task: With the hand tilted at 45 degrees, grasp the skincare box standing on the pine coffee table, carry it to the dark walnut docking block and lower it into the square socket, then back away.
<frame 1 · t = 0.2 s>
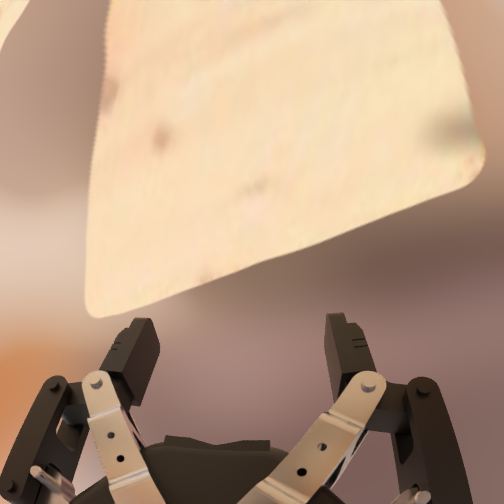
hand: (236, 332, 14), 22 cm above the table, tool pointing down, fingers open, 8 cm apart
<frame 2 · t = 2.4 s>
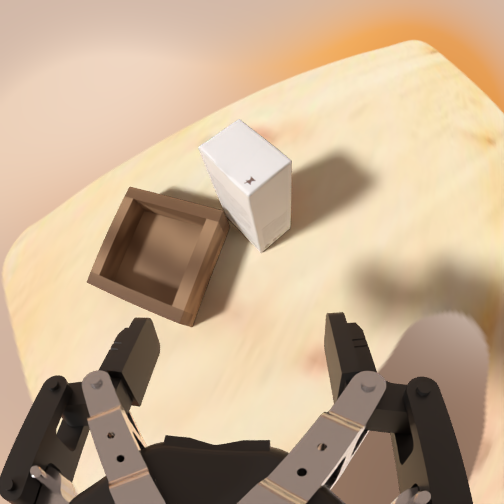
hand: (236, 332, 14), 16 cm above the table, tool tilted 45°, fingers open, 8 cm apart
dock: (164, 259, 32), on the table
skincare box: (257, 221, 33), on the table
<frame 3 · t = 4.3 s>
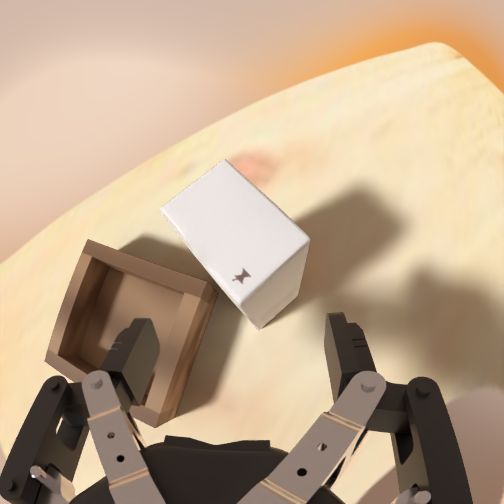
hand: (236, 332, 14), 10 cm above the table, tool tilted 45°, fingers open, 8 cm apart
dock: (136, 332, 24), on the table
skincare box: (254, 285, 25), on the table
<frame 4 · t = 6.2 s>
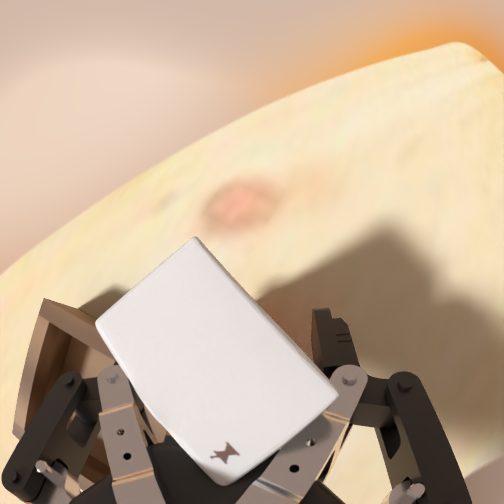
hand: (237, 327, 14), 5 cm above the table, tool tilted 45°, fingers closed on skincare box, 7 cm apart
dock: (110, 406, 18), on the table
skincare box: (250, 359, 19), on the table, touching gripper
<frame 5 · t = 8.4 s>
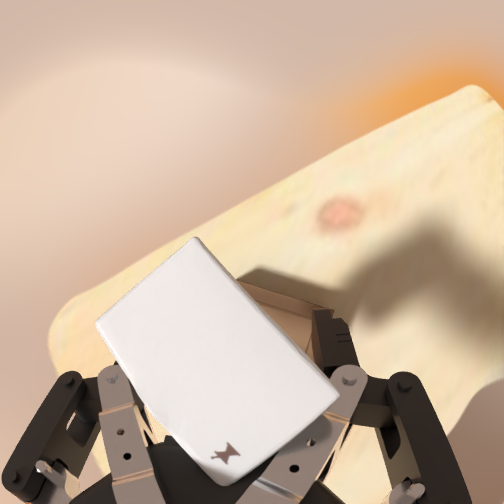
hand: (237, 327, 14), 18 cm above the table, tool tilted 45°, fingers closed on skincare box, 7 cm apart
dock: (260, 349, 30), on the table
skincare box: (250, 359, 19), point 12 cm above the table, touching gripper
when the fingers open (8 cm above the table, at t = 10.9 s): skincare box drops 1 cm, resting on dock.
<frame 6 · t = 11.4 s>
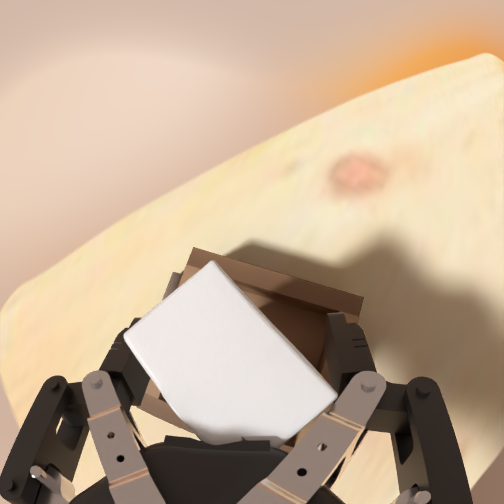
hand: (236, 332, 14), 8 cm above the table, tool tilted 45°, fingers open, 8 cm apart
dock: (253, 358, 21), on the table
skincare box: (255, 362, 20), point 1 cm above the table, touching dock
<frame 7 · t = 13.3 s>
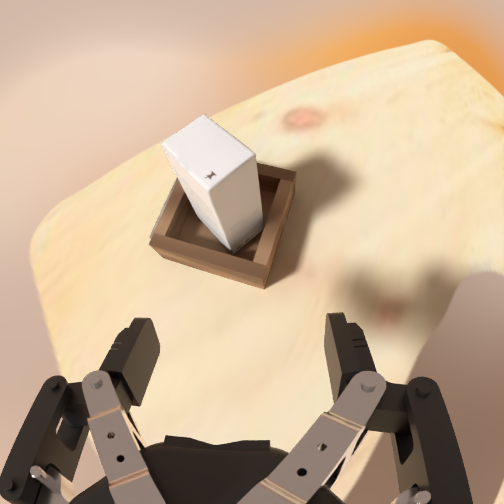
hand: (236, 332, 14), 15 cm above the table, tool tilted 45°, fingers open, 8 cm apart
dock: (229, 224, 32), on the table
skincare box: (230, 222, 31), point 1 cm above the table, touching dock
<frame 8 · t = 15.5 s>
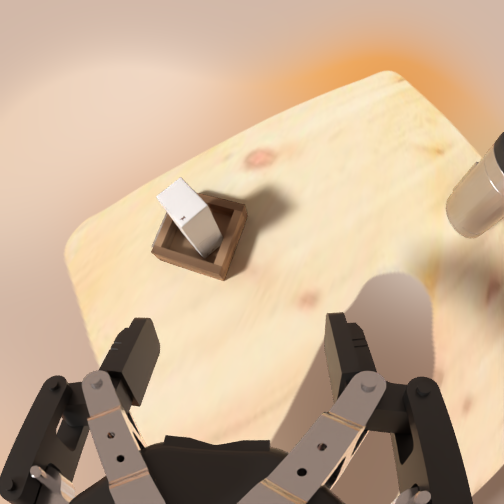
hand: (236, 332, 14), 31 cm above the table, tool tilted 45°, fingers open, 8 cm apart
dock: (203, 238, 49), on the table
skincare box: (203, 237, 48), point 1 cm above the table, touching dock
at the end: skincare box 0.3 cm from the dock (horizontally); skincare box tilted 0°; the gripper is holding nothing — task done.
